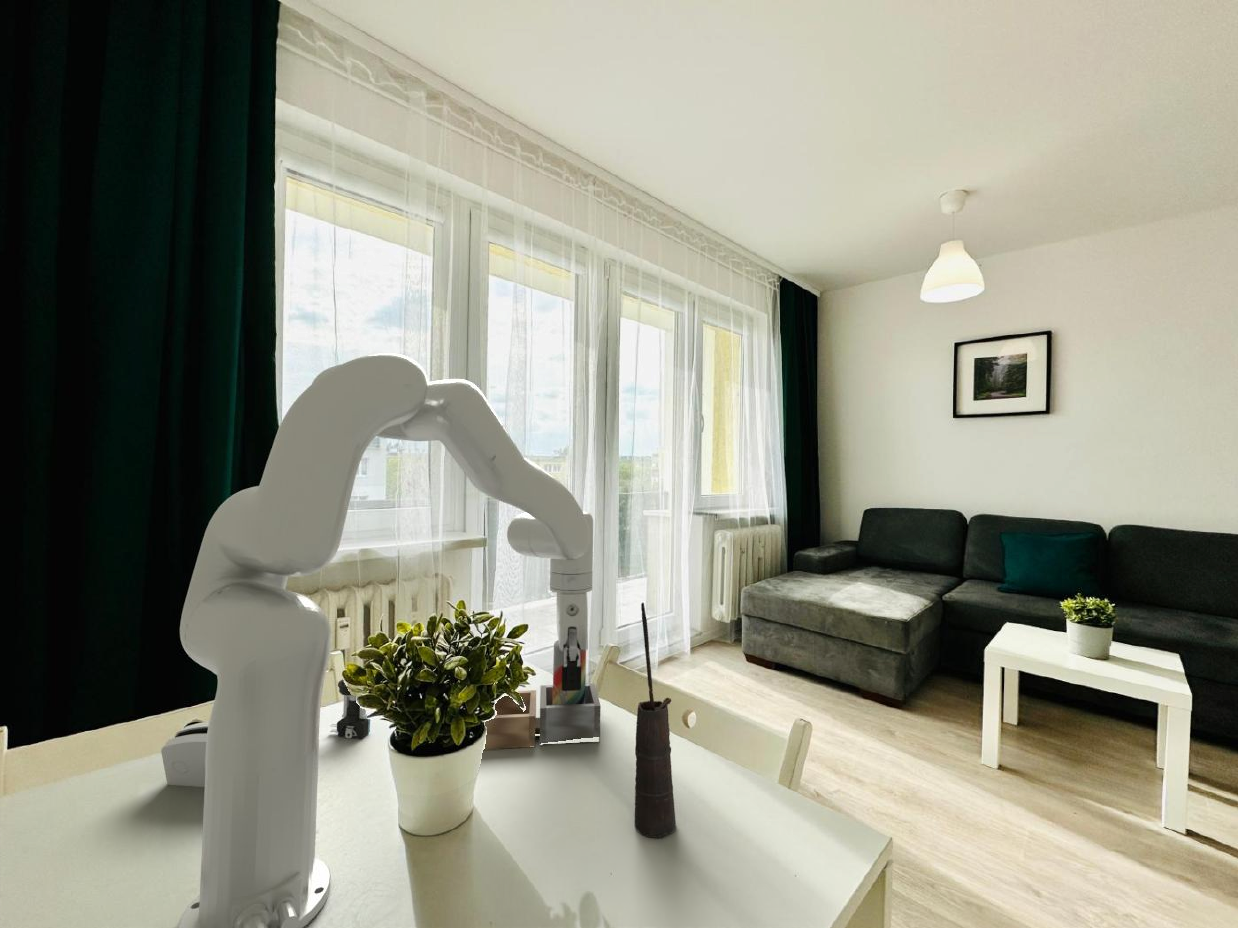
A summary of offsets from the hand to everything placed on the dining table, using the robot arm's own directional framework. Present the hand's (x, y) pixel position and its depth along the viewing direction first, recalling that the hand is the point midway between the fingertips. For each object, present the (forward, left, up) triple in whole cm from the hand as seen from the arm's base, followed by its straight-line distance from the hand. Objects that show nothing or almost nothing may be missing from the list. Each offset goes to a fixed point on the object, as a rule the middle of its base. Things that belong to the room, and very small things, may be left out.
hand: (569, 679), depth 93 cm
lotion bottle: (0, 0, -9) cm, 9 cm away
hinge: (+17, +47, -9) cm, 51 cm away
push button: (+22, +30, -9) cm, 38 cm away
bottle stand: (+3, +5, -9) cm, 10 cm away
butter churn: (-28, +6, -9) cm, 30 cm away
